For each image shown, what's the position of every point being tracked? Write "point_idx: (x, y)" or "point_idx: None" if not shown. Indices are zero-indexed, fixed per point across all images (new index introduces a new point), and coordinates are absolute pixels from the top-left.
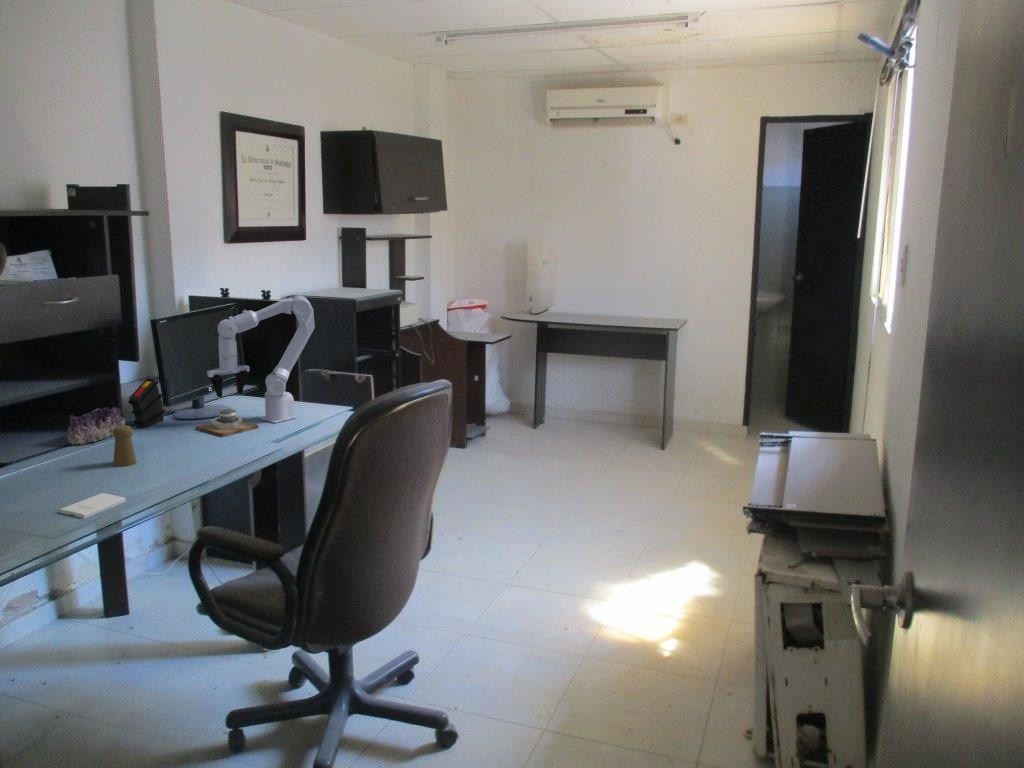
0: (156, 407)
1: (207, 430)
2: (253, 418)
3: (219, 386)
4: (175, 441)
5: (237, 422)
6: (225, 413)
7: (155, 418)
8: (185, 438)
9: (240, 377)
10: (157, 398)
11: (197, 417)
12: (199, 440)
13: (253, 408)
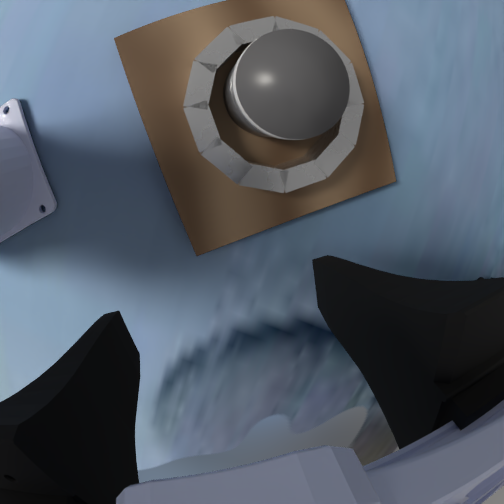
0: None
1: (373, 93)
2: (83, 244)
3: (404, 280)
4: (474, 67)
5: (242, 23)
6: (326, 44)
7: None
8: (448, 75)
9: (80, 444)
10: None
11: (309, 355)
12: (418, 16)
13: None
